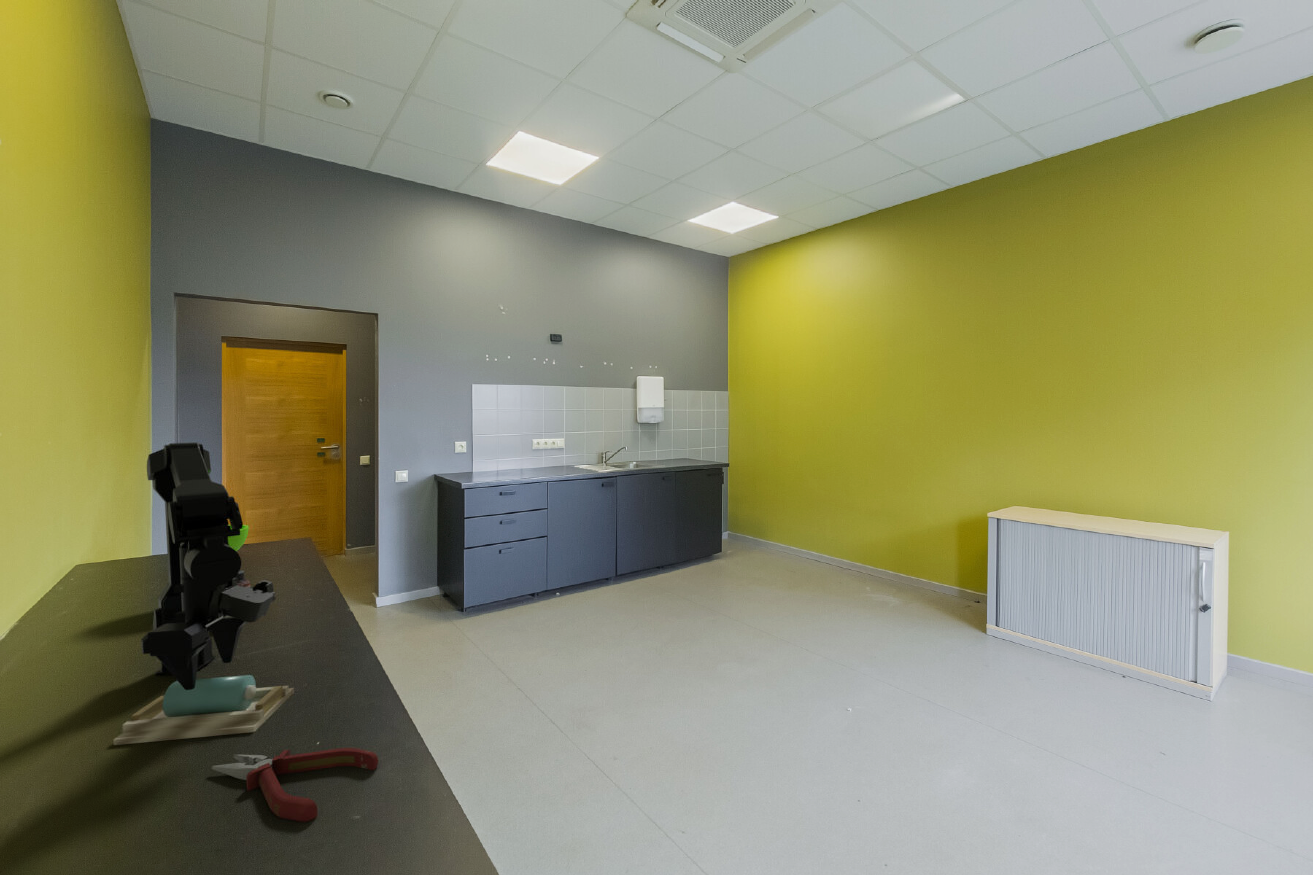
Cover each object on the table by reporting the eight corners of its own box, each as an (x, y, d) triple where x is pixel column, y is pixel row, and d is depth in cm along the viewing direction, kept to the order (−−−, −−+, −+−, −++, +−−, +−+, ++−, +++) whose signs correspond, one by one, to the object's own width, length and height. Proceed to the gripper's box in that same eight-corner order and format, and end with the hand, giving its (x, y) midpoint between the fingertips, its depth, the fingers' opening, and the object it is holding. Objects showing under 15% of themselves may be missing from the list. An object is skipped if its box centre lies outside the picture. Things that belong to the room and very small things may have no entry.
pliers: (264, 745, 79) (263, 727, 79) (383, 767, 74) (382, 748, 74) (175, 799, 68) (174, 778, 68) (307, 830, 63) (306, 807, 63)
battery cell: (163, 723, 83) (161, 690, 83) (186, 705, 88) (184, 674, 88) (244, 716, 85) (242, 684, 85) (261, 699, 90) (260, 668, 90)
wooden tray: (113, 745, 79) (112, 726, 79) (172, 702, 91) (172, 687, 91) (254, 731, 82) (253, 714, 82) (294, 692, 94) (293, 677, 94)
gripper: (227, 588, 78) (232, 699, 78) (292, 556, 96) (296, 646, 97) (135, 593, 76) (141, 707, 77) (220, 560, 95) (224, 652, 95)
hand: (209, 675), depth 86 cm, fingers open, 9 cm apart
